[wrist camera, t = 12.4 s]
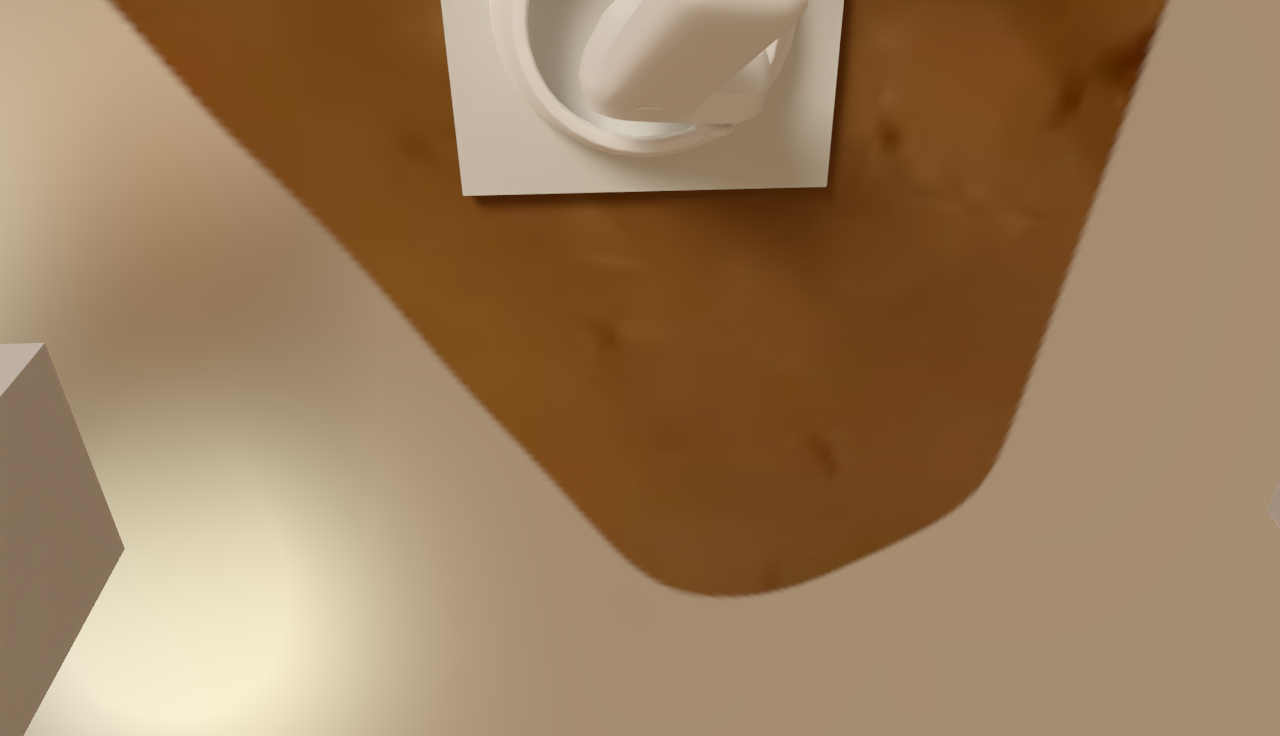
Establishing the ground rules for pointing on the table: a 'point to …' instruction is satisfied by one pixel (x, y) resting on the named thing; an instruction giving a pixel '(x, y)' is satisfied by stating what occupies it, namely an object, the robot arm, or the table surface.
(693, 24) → the hook
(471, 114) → the felt pad
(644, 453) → the table surface
